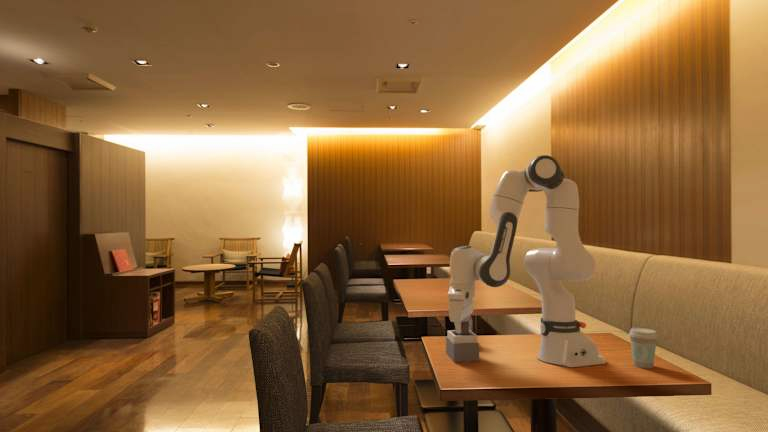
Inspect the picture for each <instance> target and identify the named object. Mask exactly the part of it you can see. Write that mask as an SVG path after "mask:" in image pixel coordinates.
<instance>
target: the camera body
mask: <svg viewBox="0 0 768 432" xmlns="http://www.w3.org/2000/svg"><path fill="white" fill-rule="evenodd" d="M446 332H447V336H445V354H446V355H447V356H448V357H449V358H450V359H451V360H452V362H454V363H458V362H463V363H464V362H480V343H478V335H477V334H476V333H475V332H473V330H472V331H471V330H469V335H460V336H455V329H453V330H452V329H451V330H447V331H446Z"/></svg>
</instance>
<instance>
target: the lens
mask: <svg viewBox="0 0 768 432" xmlns="http://www.w3.org/2000/svg"><path fill="white" fill-rule="evenodd" d="M461 328H462V332H461V333H456V328H455V327H454V330H455V336H460V335H469V329H470V321H469V318H467V317H466V318H465V319H463V320H462V321H461Z"/></svg>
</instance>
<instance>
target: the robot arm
mask: <svg viewBox="0 0 768 432" xmlns="http://www.w3.org/2000/svg"><path fill="white" fill-rule="evenodd" d="M528 192H529V193H530V192H532V193H533V192H535V193H536V192H538V193H539V192H544V194H545V198H546V205H545V217H544V230H545V232H546V234H548V236H550V237H551V238H553V239H554V241H555V244H556V248H555V247H554V248H553V247H539V248H533V249H530V250H528V252H527V253H525V254H526V255H525V256H524V259H523V264H524V268H525V271H526V272H527V273H528V274H529V275H530V276H531V278H533V279H534V281H535V283H536V285H537V287H538V290H539V293H540V297H541V298H540V299H541V318H540V325H539V326H540V335H541V336H540V343H539V349H538V353H537V355H536V357H537V359H538V360H540V361H542V362H545V363H549V364H552V365H559V366H563V367H568V368H577V367H587V366H594V365H595V366H596V365H604V364H606V363H607V360H606V358H605V357H604V356H602V355H600V354H599V349H598V344H597V343H596V342H595V341H594V340H593V339H592V338H590V336H588V335H587V334H586V333H584V332H583V331H582V330H581V329H585V328H586V327H587V323H586V322H583V321H578V320H577V319H576V299H575V296H574V295H573V294H572V293H571V292H570V291H568V289H566V288H565V286H564V285H563V282H562V281H564V282H565V281H567V282H584V281H589V280H590V279H592V277H594V275H595V273H596V270H597V263H596V259H595V258H594V256H593V255H592V253H590V251H588V250H587V249H586V247H585V246H584V244H583V242H582V240H581V238H580V237H581V236H580V233H579V216H580V215H579V214H580V212H579V211H580V195H579V194H580V193H579V188H578V185H577V183H576V182H575V181H573V180H572V179H568V178H565V174H564V172H563V170H562V168H561V166H560V164H559V162H558V160H556V159H555V158H554V157H553V156H551V155H546V154H545V155H544V154H543V155H538V156H536V157H534V158H533V159H531V161H530V162H529V163H528V164H527V166H526V167H525V168H524V170H521V171H519V170H512V169H511V170H509V169H508V170H507V171H504V172H503V173H502V175H501V176H500V178H499V180H498V182H497V184H496V187H495V189H494V192H493V195H492V198H491V201H490V205H489V215H490V218H491V219H492V221H493V223H494V224H495V230H496V231H495V237H494V240H493V243H492V248H491V251H490V254H489V255H488V254H485V253H483V252H481V251H479V250H477V249H475V248H474V247H473V246H472V245H462V246H457V247H455V248H453V249H452V250H451V253H450V259H449V273H450V279H449V287H448V288H449V289H448V292H447V294H446V298H447V300H448V318H449V321H450V322H451V323H454V326H455V327H454V329H455V328H456V333H461V332H462V328H461V321H462V320H463V319H465V318H466V317H467V318H469V315H470V314H471V315H472V314H473V312H474V297H475V296H476V295H475V293H476V290H475V288H476V287H475V286H476V281H480V282H482V283H484V284H485V285H487V286H488V287H491V288H499V287H501V286H503V285H505V284H507V282H508V280H509V278H510V275H511V265H510V264H511V263H510V262H511V261H510V258H511V253H512V250H513V245H514V241H515V238H516V237H515V236H516V233H517V226H518V223H519V222H518V221H519V218H520V215H521V212H522V209H523V205H524V201H525V198H526V196H527V193H528Z"/></svg>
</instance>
